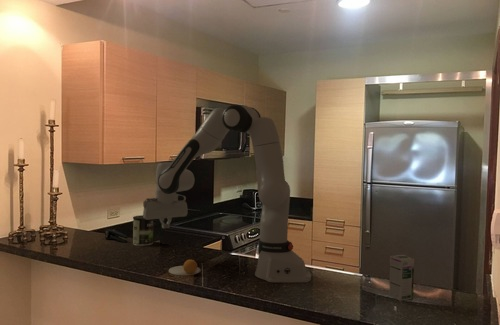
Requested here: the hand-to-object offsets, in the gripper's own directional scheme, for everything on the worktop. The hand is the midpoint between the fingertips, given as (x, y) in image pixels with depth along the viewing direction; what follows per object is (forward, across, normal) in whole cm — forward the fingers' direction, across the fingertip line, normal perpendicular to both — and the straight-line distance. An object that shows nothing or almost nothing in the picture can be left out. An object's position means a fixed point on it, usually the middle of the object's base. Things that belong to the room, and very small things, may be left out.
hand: (165, 227), depth 183 cm
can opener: (+14, -8, +47) cm, 49 cm away
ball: (+12, 0, -25) cm, 28 cm away
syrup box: (+16, +51, -86) cm, 102 cm away
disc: (+14, 0, -21) cm, 25 cm away
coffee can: (+14, +1, +33) cm, 35 cm away
